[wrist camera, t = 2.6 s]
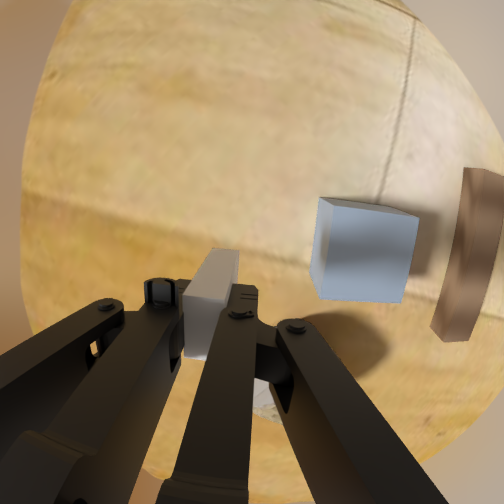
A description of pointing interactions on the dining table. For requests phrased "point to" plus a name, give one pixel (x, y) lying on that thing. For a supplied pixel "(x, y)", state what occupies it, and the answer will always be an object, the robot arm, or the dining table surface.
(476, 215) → the brown wavy bar
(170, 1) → the dining table surface
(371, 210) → the block
